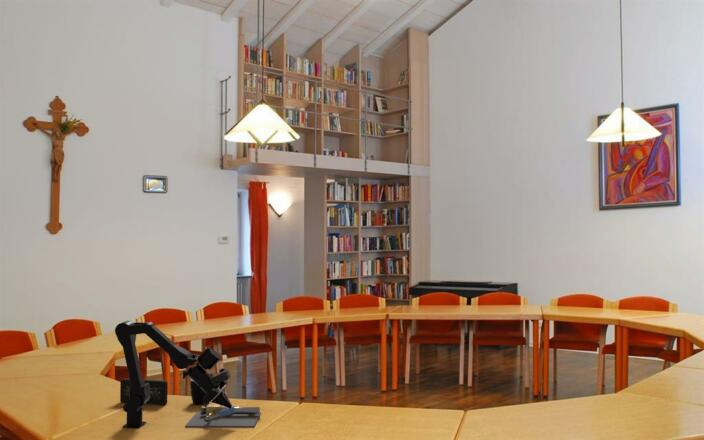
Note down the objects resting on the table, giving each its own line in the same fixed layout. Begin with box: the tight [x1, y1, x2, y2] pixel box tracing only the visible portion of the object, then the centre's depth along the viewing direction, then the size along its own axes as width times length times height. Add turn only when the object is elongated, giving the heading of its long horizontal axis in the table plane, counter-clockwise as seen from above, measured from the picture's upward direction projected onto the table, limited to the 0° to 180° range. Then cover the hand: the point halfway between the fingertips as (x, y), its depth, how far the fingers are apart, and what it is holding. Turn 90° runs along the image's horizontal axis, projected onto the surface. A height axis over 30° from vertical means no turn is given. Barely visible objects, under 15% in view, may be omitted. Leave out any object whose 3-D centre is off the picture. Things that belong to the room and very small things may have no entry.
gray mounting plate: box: [184, 411, 262, 429], centre depth 241 cm, size 26×18×1 cm
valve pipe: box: [199, 403, 261, 417], centre depth 241 cm, size 23×12×4 cm, turn 90°
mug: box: [189, 378, 206, 406], centre depth 265 cm, size 12×9×10 cm
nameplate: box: [119, 378, 168, 406], centre depth 265 cm, size 21×2×10 cm, turn 79°
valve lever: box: [204, 405, 236, 422], centre depth 234 cm, size 2×2×12 cm
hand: (231, 407), depth 234 cm, fingers closed, pressing on valve lever
